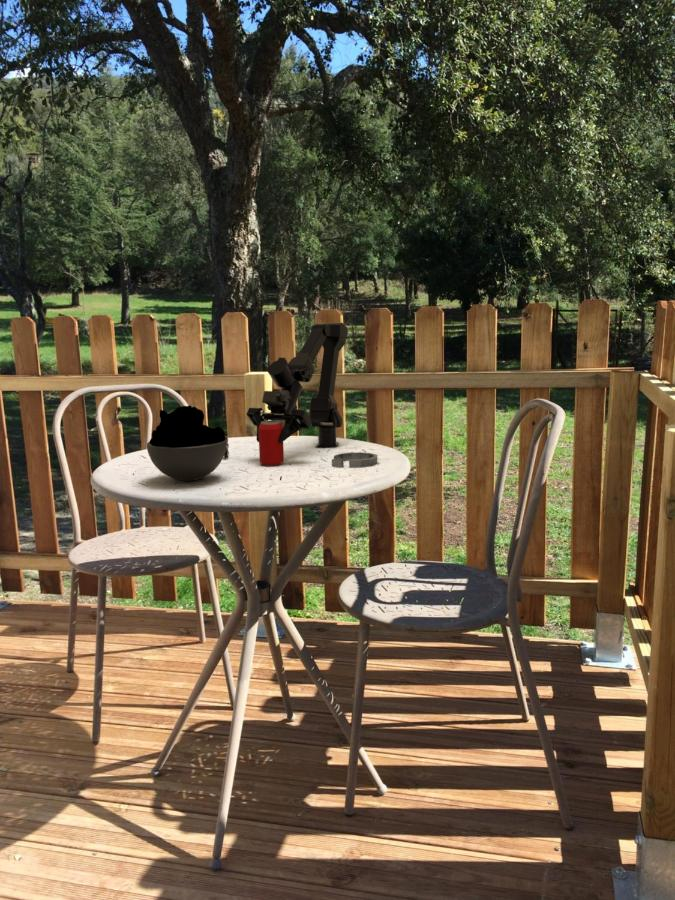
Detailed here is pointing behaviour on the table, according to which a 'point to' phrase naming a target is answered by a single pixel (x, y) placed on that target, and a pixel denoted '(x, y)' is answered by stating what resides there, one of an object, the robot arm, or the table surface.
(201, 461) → the coal bowl
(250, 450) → the table surface
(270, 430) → the beverage can
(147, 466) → the table surface
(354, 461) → the ring collar
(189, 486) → the table surface
